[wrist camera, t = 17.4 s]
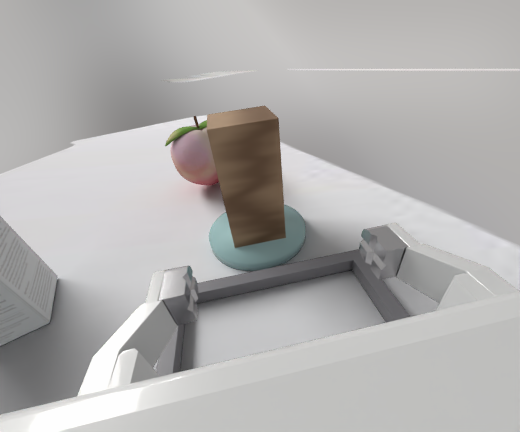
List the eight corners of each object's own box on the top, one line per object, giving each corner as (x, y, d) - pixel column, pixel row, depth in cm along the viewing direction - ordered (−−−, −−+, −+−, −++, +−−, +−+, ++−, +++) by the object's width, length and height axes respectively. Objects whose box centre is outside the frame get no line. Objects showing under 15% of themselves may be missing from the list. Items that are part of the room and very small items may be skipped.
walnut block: (234, 247, 22) (206, 129, 16) (231, 218, 26) (207, 114, 20) (285, 237, 23) (278, 118, 16) (274, 210, 27) (264, 105, 20)
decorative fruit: (222, 167, 41) (209, 105, 35) (251, 180, 35) (241, 110, 30) (172, 187, 36) (147, 121, 31) (196, 206, 31) (171, 130, 25)
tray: (125, 636, 8) (108, 645, 7) (175, 297, 20) (170, 288, 19) (534, 507, 9) (553, 504, 9) (356, 259, 21) (358, 249, 20)
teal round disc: (211, 280, 21) (208, 273, 20) (211, 217, 29) (209, 210, 28) (320, 257, 21) (320, 250, 21) (290, 202, 29) (289, 195, 29)
